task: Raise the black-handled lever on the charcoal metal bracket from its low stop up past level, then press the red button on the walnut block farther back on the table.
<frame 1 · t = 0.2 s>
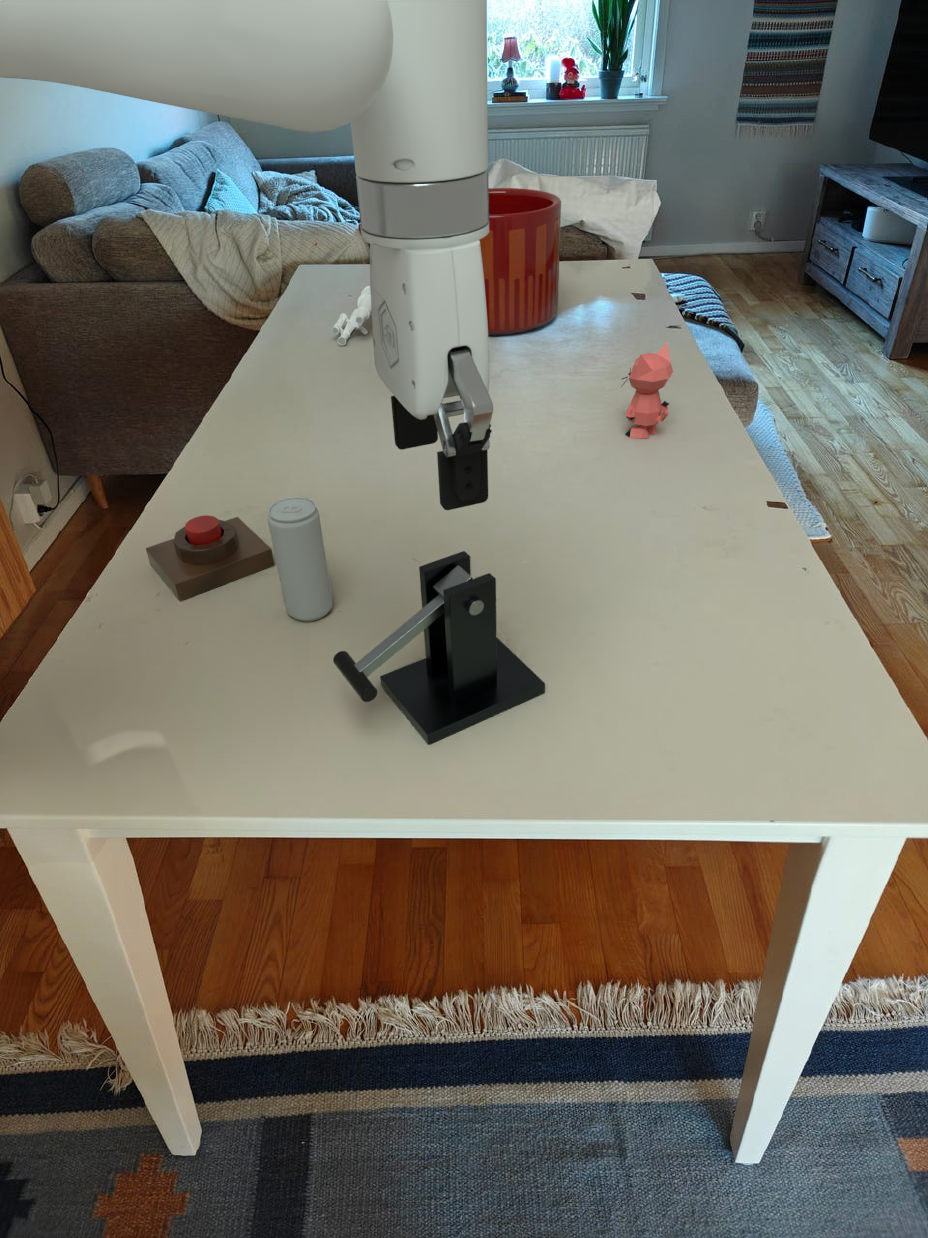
hand: (439, 472, 60), 24 cm above the table, tool pointing down, fingers open, 9 cm apart
bracket: (462, 689, 77), on the table
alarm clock: (433, 378, 138), on the table
button: (203, 530, 92), point 4 cm above the table, slide at 0.1 cm
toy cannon: (359, 333, 156), on the table
lever: (409, 630, 70), point 9 cm above the table, hinge at -25.0°
beverage can: (310, 611, 88), on the table
button block: (212, 565, 95), on the table
planter: (496, 318, 161), on the table
cat figurine: (644, 434, 119), on the table
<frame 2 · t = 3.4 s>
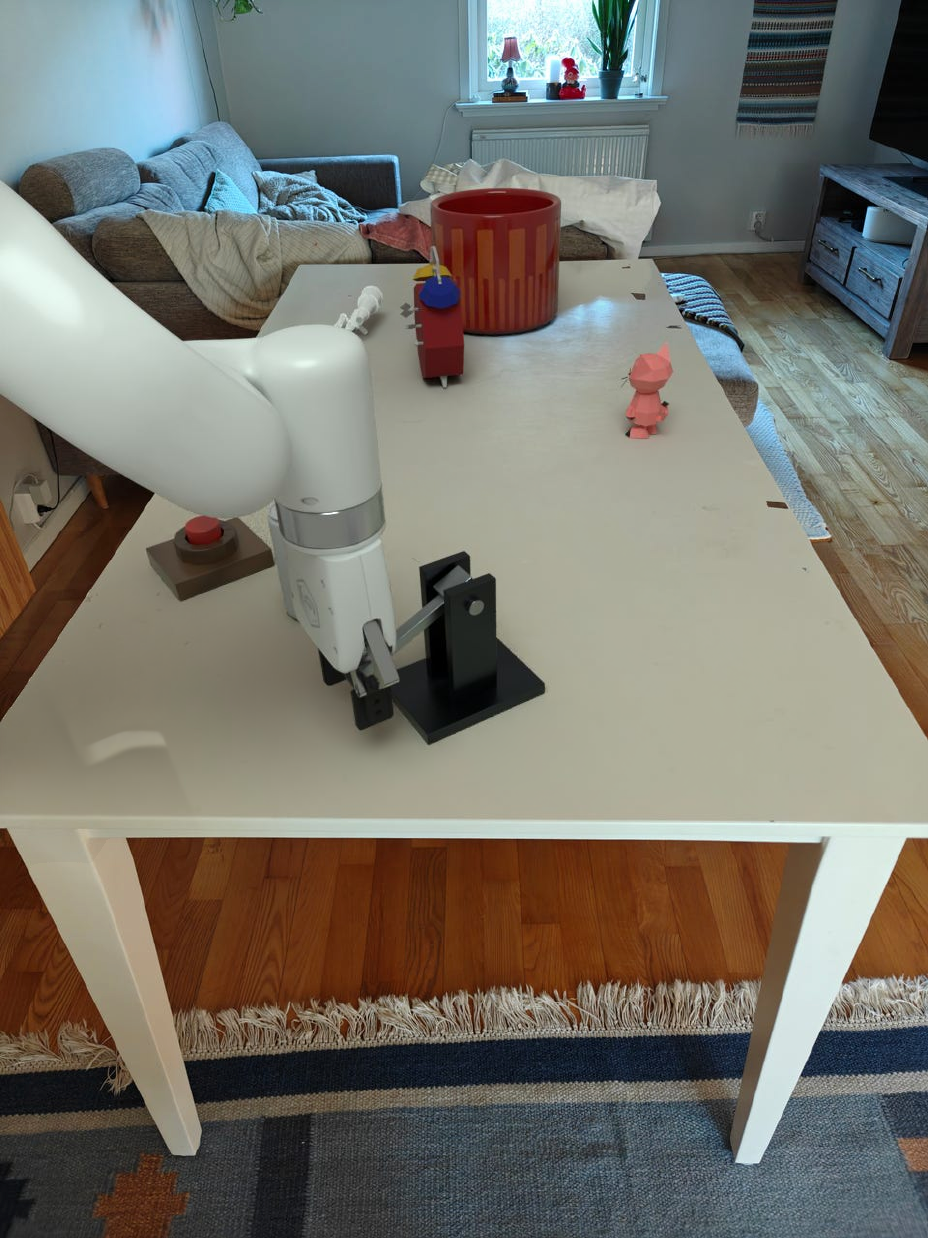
hand: (357, 698, 71), 4 cm above the table, tool pointing down, fingers closed on lever, 5 cm apart
lever: (409, 630, 70), point 9 cm above the table, hinge at -25.0°, touching gripper
everything else where it was.
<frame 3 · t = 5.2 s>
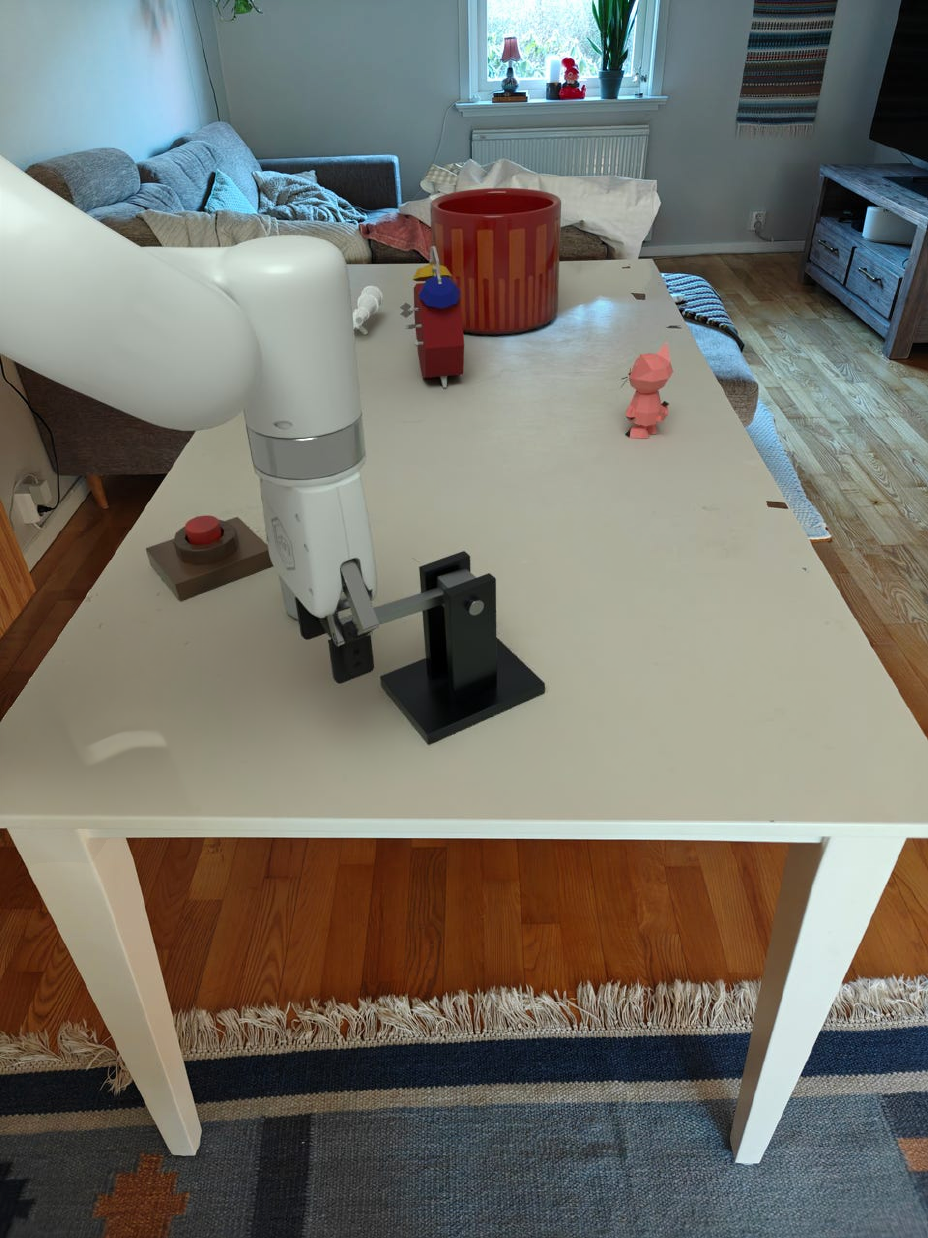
hand: (336, 652, 67), 9 cm above the table, tool pointing down, fingers closed on lever, 5 cm apart
lever: (402, 607, 68), point 11 cm above the table, hinge at 3.1°, touching gripper
everything else where it was.
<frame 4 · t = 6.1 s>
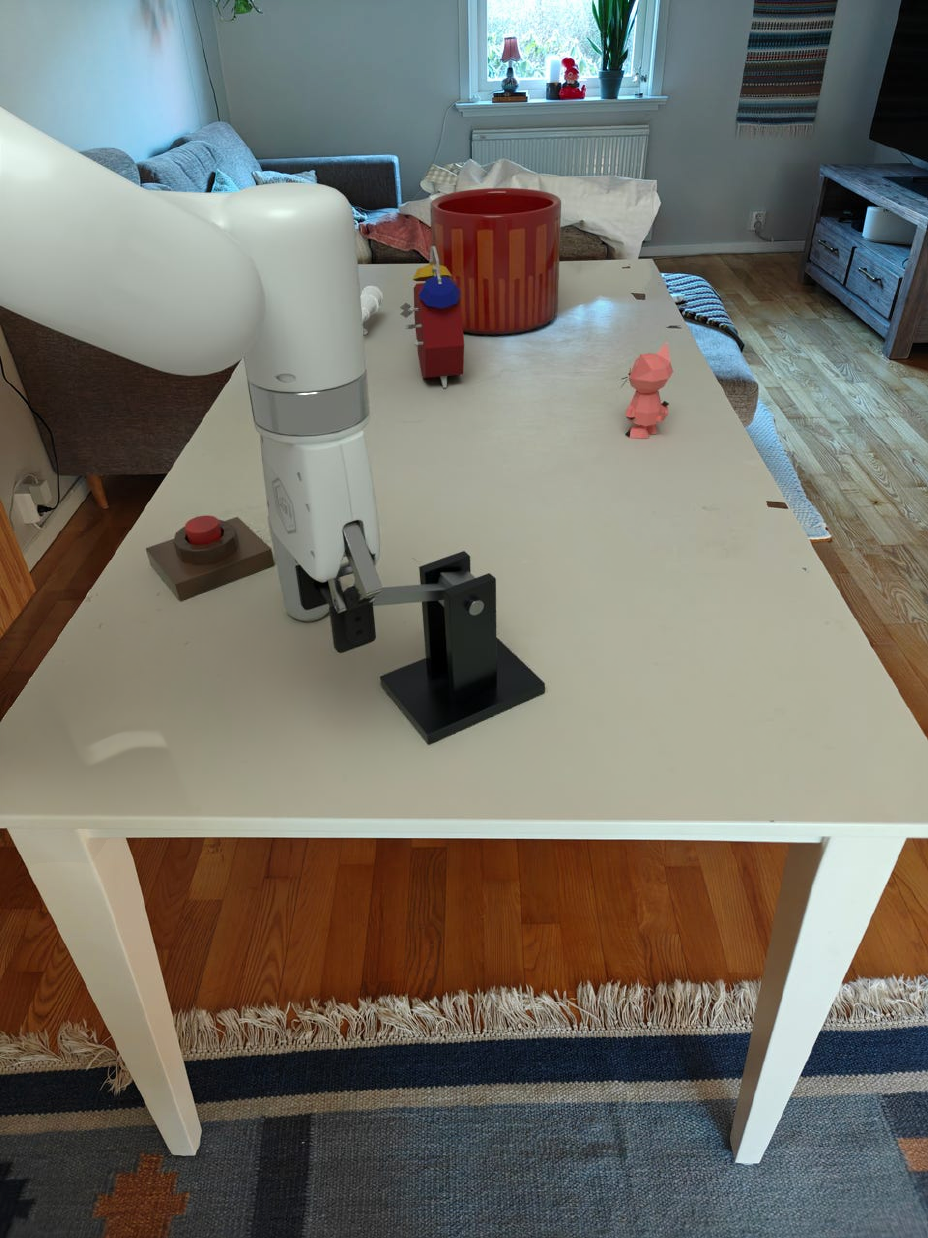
hand: (337, 622, 65), 12 cm above the table, tool pointing down, fingers closed on lever, 5 cm apart
lever: (403, 594, 68), point 13 cm above the table, hinge at 17.0°, touching gripper
everything else where it was.
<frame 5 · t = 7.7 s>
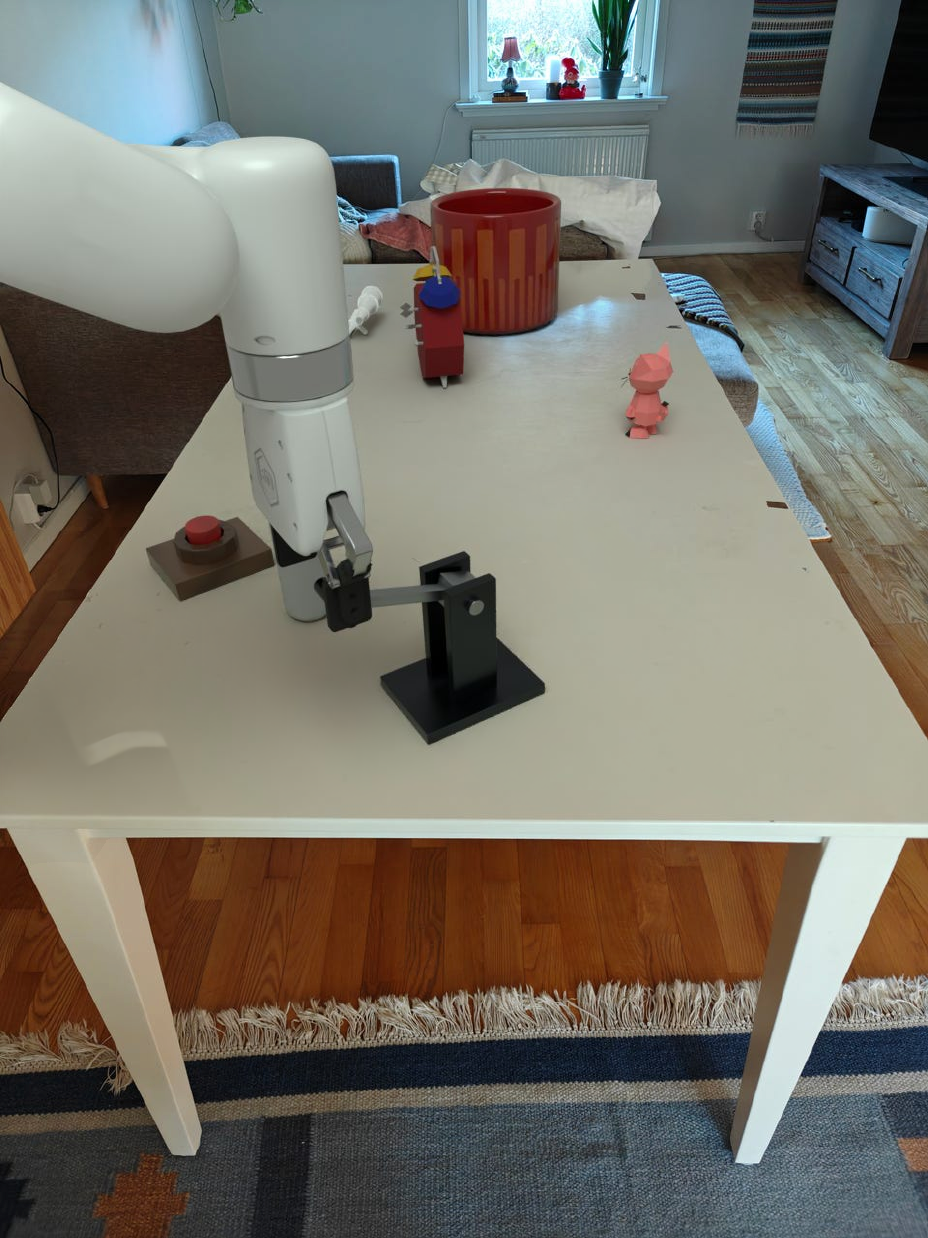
hand: (322, 591, 63), 15 cm above the table, tool pointing down, fingers open, 9 cm apart
lever: (403, 595, 68), point 12 cm above the table, hinge at 16.0°
everything else where it was.
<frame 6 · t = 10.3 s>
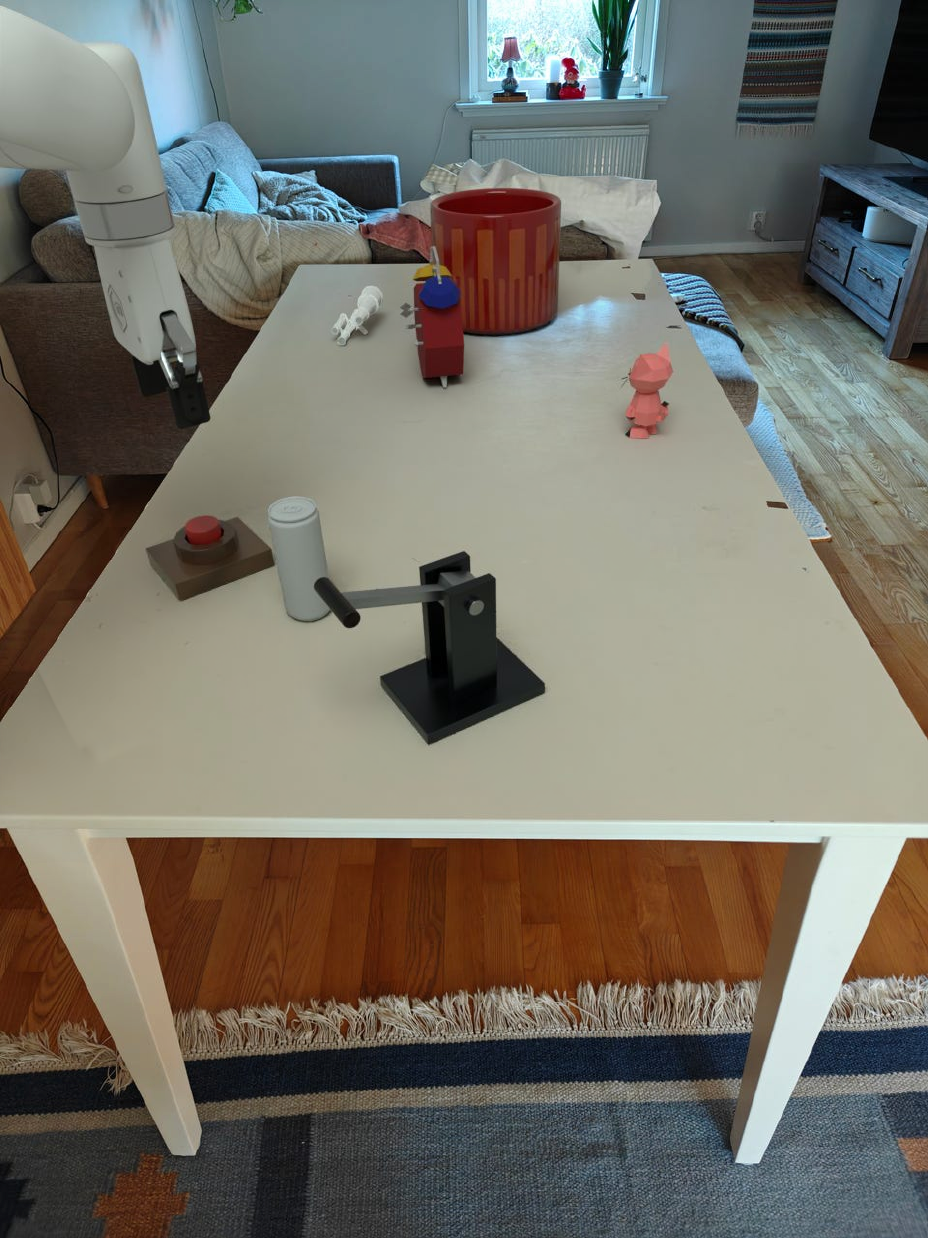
hand: (175, 407, 83), 19 cm above the table, tool pointing down, fingers open, 9 cm apart
nothing on the table moved.
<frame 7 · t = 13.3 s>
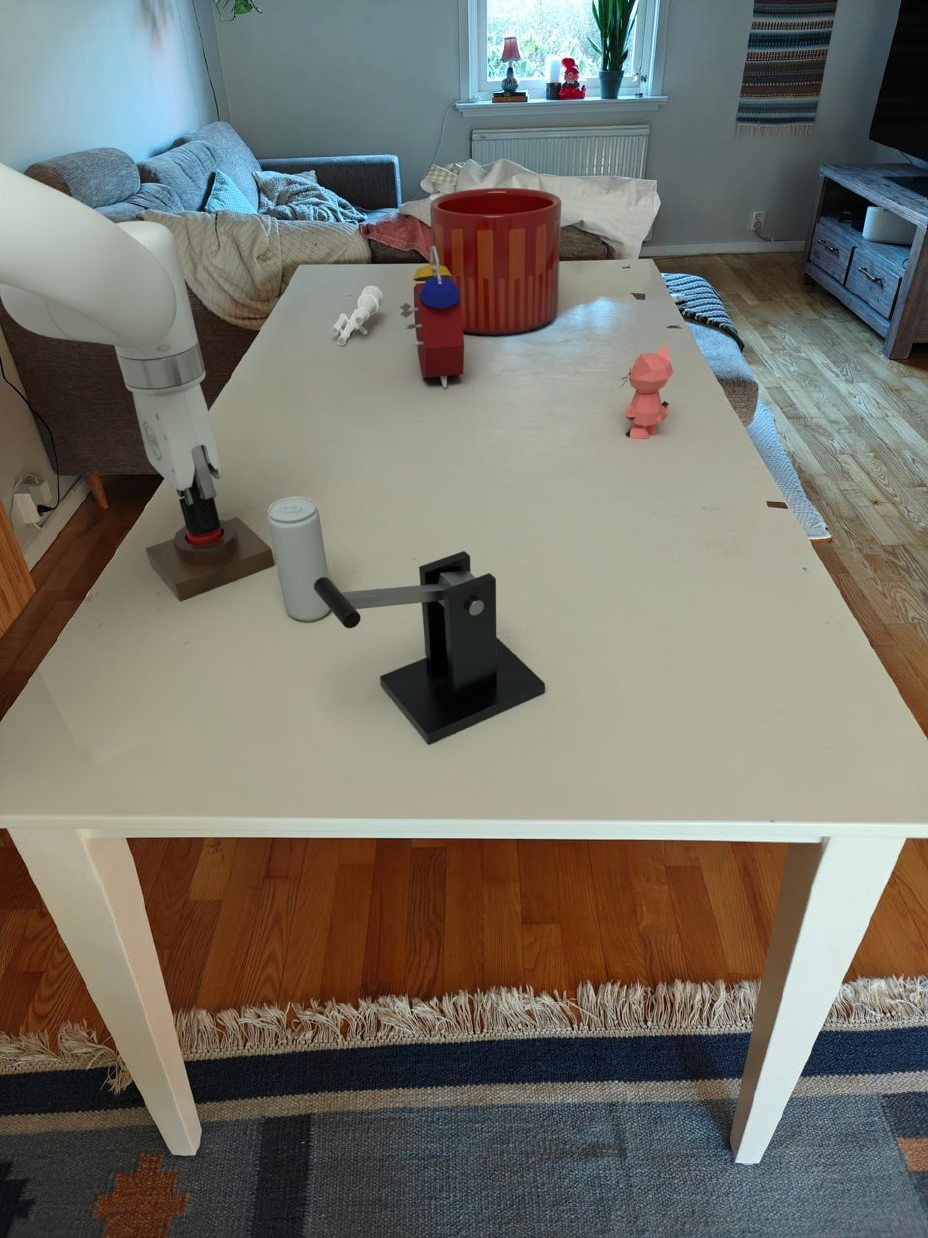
hand: (204, 529, 92), 5 cm above the table, tool pointing down, fingers closed
button: (205, 537, 93), point 4 cm above the table, slide at -0.7 cm, touching gripper
everything else where it was.
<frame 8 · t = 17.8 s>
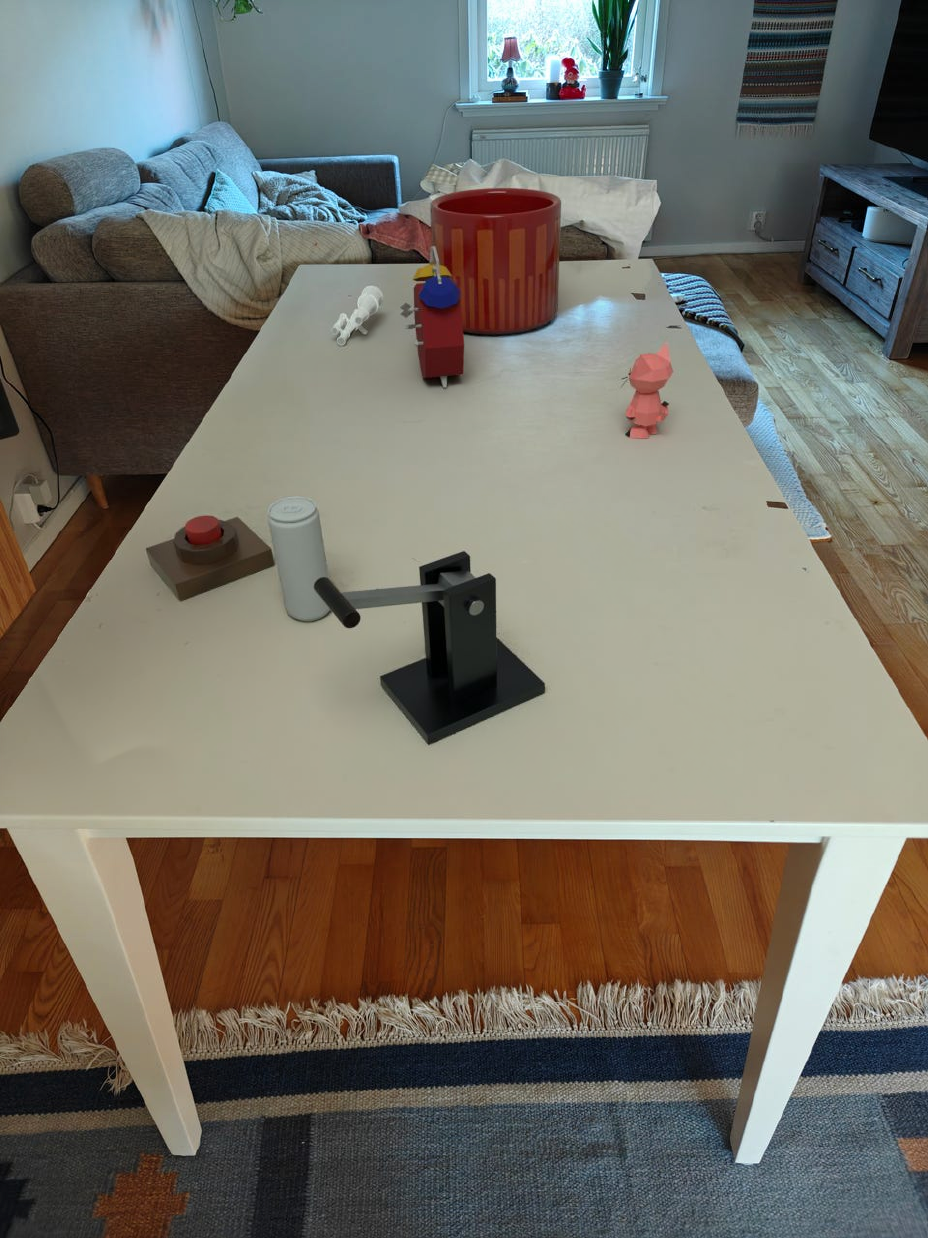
button: (203, 530, 92), point 4 cm above the table, slide at 0.1 cm
everything else where it was.
at the end: lever at +16° (first picture: -25°); button pushed in 1.0 cm at the most during the clip, back to where it started at the end; button slide at 0.1 cm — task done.
